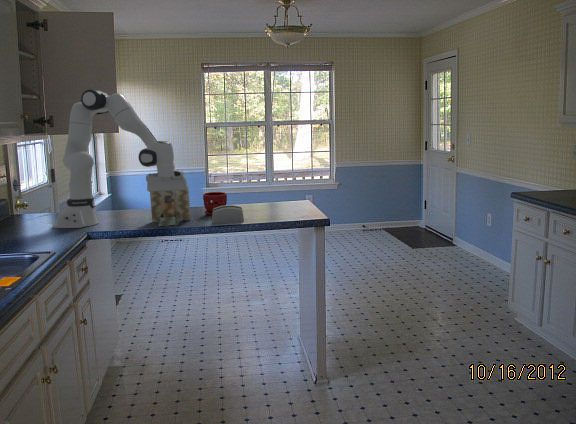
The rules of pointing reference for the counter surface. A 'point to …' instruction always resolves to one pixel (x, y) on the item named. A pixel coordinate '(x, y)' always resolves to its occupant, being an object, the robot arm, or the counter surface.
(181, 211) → the patterned box
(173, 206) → the brown bottle
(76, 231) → the counter surface
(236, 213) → the grey arched block
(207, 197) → the plant pot
